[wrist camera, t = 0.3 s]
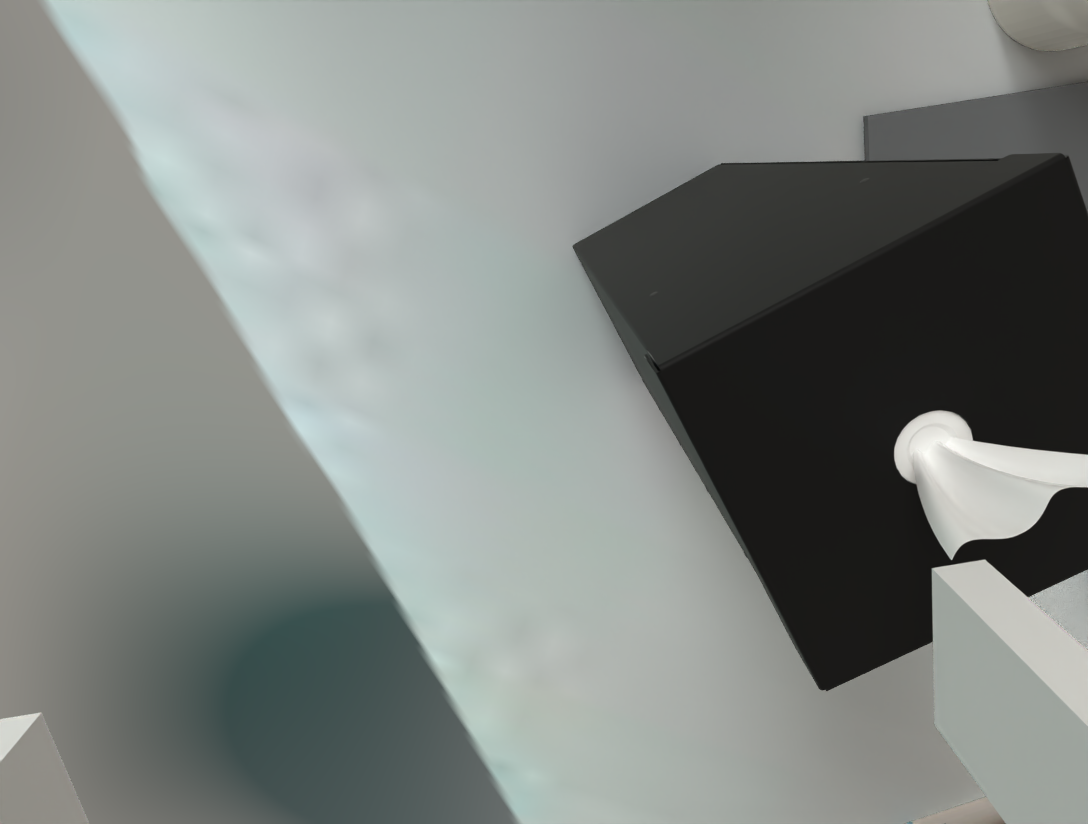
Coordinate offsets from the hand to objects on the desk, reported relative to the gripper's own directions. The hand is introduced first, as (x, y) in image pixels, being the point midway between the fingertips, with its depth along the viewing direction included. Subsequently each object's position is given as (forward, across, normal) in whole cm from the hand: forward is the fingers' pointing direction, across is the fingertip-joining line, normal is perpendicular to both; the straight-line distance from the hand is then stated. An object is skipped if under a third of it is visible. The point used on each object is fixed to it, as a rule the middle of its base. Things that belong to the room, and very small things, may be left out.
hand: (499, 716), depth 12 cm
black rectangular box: (+29, +8, +1) cm, 30 cm away
